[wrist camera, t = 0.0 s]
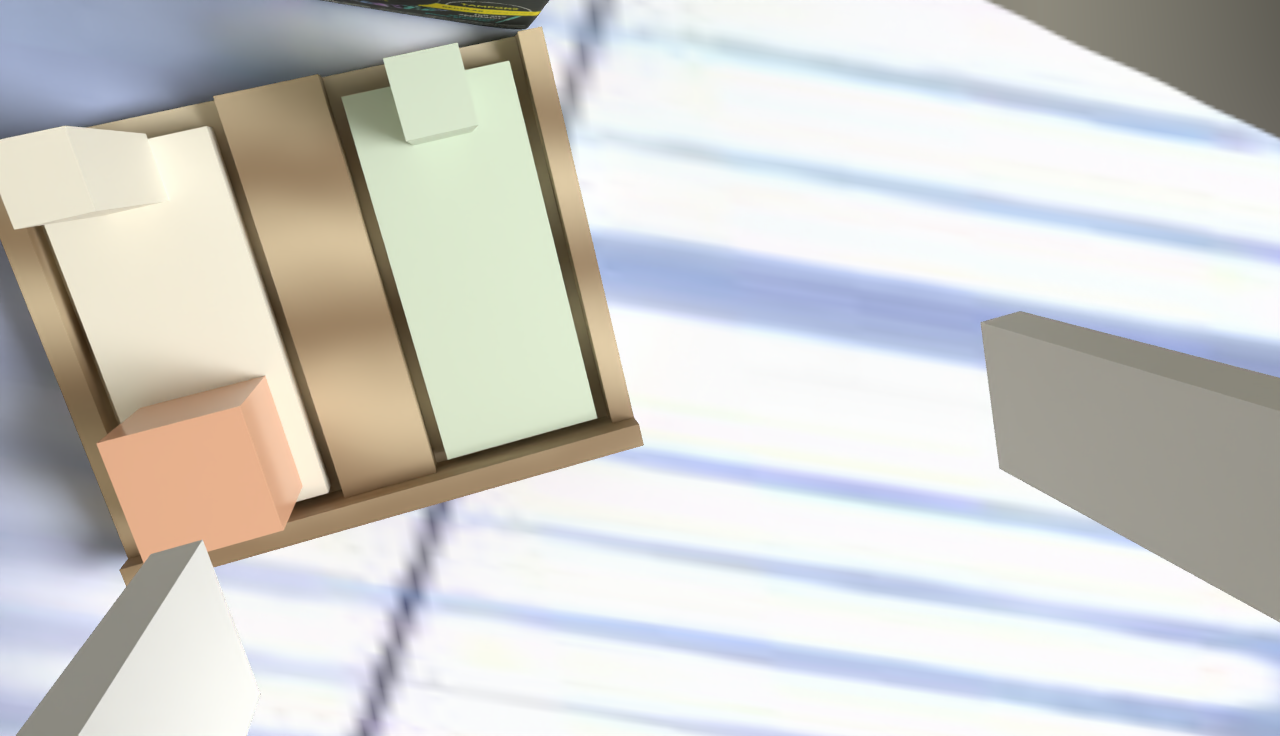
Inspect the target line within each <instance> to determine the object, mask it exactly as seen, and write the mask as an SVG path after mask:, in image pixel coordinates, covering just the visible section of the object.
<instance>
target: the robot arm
mask: <svg viewBox="0 0 1280 736" xmlns="http://www.w3.org/2000/svg"><path fill="white" fill-rule="evenodd" d="M981 330H982V337H983V345H984V353H985V360H986V368H987V376H988V383H989V391H990V399H991V406H992V414H993V422H994V429H995V437H996V445H997V453H998V460H999V468H1000V469H1001V470H1003V471H1005V472H1007V473H1009V474H1011V475H1012V476H1014V477H1016V478H1018V479H1020V480H1022V481H1023V482H1025V483H1027V484H1029V485H1031V486H1032V487H1034V488H1036V489H1038V490H1040V491H1042V492H1043V493H1045V494H1047V495H1049V496H1051V497H1052V498H1054V499H1056V500H1058V501H1060V502H1062V503H1063V504H1065V505H1067V506H1069V507H1071V508H1073V509H1074V510H1076V511H1078V512H1080V513H1082V514H1083V515H1085V516H1087V517H1089V518H1091V519H1093V520H1094V521H1096V522H1098V523H1100V524H1102V525H1103V526H1105V527H1107V528H1109V529H1111V530H1113V531H1114V532H1116V533H1118V534H1120V535H1122V536H1124V537H1125V538H1127V539H1129V540H1131V541H1133V542H1134V543H1136V544H1138V545H1140V546H1142V547H1144V548H1145V549H1147V550H1149V551H1151V552H1153V553H1154V554H1156V555H1158V556H1160V557H1162V558H1164V559H1165V560H1167V561H1169V562H1171V563H1173V564H1175V565H1176V566H1178V567H1180V568H1182V569H1184V570H1185V571H1187V572H1189V573H1191V574H1193V575H1195V576H1196V577H1198V578H1200V579H1202V580H1204V581H1205V582H1207V583H1209V584H1211V585H1213V586H1215V587H1216V588H1218V589H1220V590H1222V591H1224V592H1226V593H1227V594H1229V595H1231V596H1233V597H1235V598H1236V599H1238V600H1240V601H1242V602H1244V603H1246V604H1247V605H1249V606H1251V607H1253V608H1255V609H1256V610H1258V611H1260V612H1262V613H1264V614H1266V615H1267V616H1269V617H1271V618H1273V619H1275V620H1277V621H1278V622H1280V378H1278V377H1274V376H1270V375H1266V374H1263V373H1259V372H1255V371H1251V370H1247V369H1243V368H1239V367H1235V366H1231V365H1228V364H1224V363H1220V362H1216V361H1212V360H1208V359H1204V358H1200V357H1196V356H1193V355H1189V354H1185V353H1181V352H1177V351H1173V350H1169V349H1165V348H1161V347H1158V346H1154V345H1150V344H1146V343H1142V342H1138V341H1134V340H1130V339H1126V338H1123V337H1119V336H1115V335H1111V334H1107V333H1103V332H1099V331H1095V330H1091V329H1088V328H1084V327H1080V326H1076V325H1072V324H1068V323H1064V322H1060V321H1056V320H1053V319H1049V318H1045V317H1041V316H1037V315H1033V314H1029V313H1025V312H1021V311H1019V312H1016V313H1012V314H1008V315H1005V316H1001V317H998V318H994V319H991V320H987V321H983V322H981ZM260 695H261V693H260V691H259V688H258V685H257V683H256V680H255V677H254V675H253V672H252V669H251V667H250V664H249V661H248V659H247V656H246V653H245V651H244V648H243V645H242V643H241V640H240V637H239V635H238V632H237V629H236V627H235V624H234V621H233V619H232V616H231V614H230V611H229V608H228V606H227V603H226V600H225V598H224V595H223V592H222V590H221V587H220V584H219V582H218V579H217V576H216V574H215V571H214V568H213V566H212V563H211V560H210V558H209V555H208V552H207V550H206V547H205V544H204V542H203V540H200V541H196V542H192V543H189V544H185V545H182V546H178V547H174V548H171V549H167V550H164V551H160V552H157V553H153V554H151V555H150V556H149V557H148V559H147V560H146V561H145V563H144V564H143V565H142V567H141V568H140V569H139V571H138V572H137V573H136V575H135V576H134V577H133V579H132V580H131V581H130V583H129V584H128V585H127V587H126V588H125V589H124V591H123V592H122V594H121V595H120V596H119V598H118V599H117V600H116V602H115V603H114V604H113V606H112V607H111V608H110V610H109V611H108V612H107V614H106V615H105V616H104V618H103V619H102V620H101V622H100V623H99V624H98V626H97V627H96V628H95V630H94V631H93V632H92V634H91V635H90V636H89V638H88V639H87V640H86V642H85V643H84V645H83V646H82V647H81V649H80V650H79V651H78V653H77V654H76V655H75V657H74V658H73V659H72V661H71V662H70V663H69V665H68V666H67V667H66V669H65V670H64V671H63V673H62V674H61V675H60V677H59V678H58V679H57V681H56V682H55V683H54V685H53V686H52V687H51V689H50V690H49V692H48V693H47V694H46V696H45V697H44V698H43V700H42V701H41V702H40V704H39V705H38V706H37V708H36V709H35V710H34V712H33V713H32V714H31V716H30V717H29V718H28V720H27V721H26V722H25V724H24V725H23V726H22V728H21V729H20V730H19V732H18V733H17V734H16V736H247V733H248V730H249V727H250V724H251V722H252V719H253V716H254V713H255V710H256V707H257V704H258V701H259V698H260Z"/></svg>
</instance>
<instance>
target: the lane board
mask: <svg viewBox="0 0 1280 736" xmlns="http://www.w3.org/2000/svg"><path fill="white" fill-rule="evenodd" d="M459 50H460V54H461V58H462V61H463V65H464V69H465V70H468V69H473V68H477V67H482V66H487V65H491V64H496V63H501V62H505V61H509V62H510V66H511V70H512V74H513V78H514V82H515V86H516V90H517V94H518V98H519V102H520V106H521V110H522V114H523V118H524V123H525V127H526V131H527V135H528V139H529V143H530V147H531V151H532V155H533V159H534V163H535V167H536V171H537V175H538V179H539V183H540V187H541V192H542V196H543V200H544V204H545V208H546V212H547V216H548V220H549V224H550V228H551V232H552V236H553V240H554V244H555V248H556V252H557V257H558V261H559V265H560V269H561V273H562V277H563V281H564V285H565V289H566V293H567V297H568V301H569V305H570V309H571V313H572V317H573V322H574V326H575V330H576V334H577V338H578V342H579V346H580V350H581V354H582V358H583V362H584V366H585V370H586V374H587V378H588V382H589V386H590V391H591V395H592V399H593V403H594V407H595V411H596V415H597V419H593V420H589V421H586V422H582V423H578V424H575V425H571V426H568V427H564V428H560V429H557V430H553V431H550V432H546V433H542V434H539V435H535V436H532V437H528V438H524V439H521V440H517V441H514V442H510V443H506V444H503V445H499V446H496V447H492V448H488V449H485V450H481V451H478V452H474V453H470V454H467V455H463V456H460V457H456V458H452V459H449V460H448V459H447V456H446V452H445V449H444V445H443V442H442V439H441V435H440V432H439V428H438V425H437V422H436V418H435V415H434V411H433V408H432V405H431V401H430V398H429V394H428V391H427V388H426V384H425V381H424V377H423V374H422V371H421V367H420V364H419V360H418V357H417V353H416V350H415V347H414V343H413V340H412V336H411V333H410V330H409V326H408V323H407V319H406V316H405V313H404V309H403V306H402V302H401V299H400V296H399V292H398V289H397V285H396V282H395V279H394V275H393V272H392V268H391V265H390V262H389V258H388V255H387V251H386V248H385V245H384V241H383V238H382V234H381V231H380V228H379V224H378V221H377V217H376V214H375V210H374V207H373V204H372V200H371V197H370V193H369V190H368V187H367V183H366V180H365V176H364V173H363V170H362V166H361V163H360V159H359V156H358V153H357V149H356V146H355V142H354V139H353V136H352V132H351V129H350V125H349V122H348V119H347V115H346V112H345V108H344V105H343V102H342V98H341V97H344V96H348V95H353V94H357V93H362V92H367V91H371V90H376V89H380V88H385V87H390V82H389V79H388V75H387V72H386V68H385V65H384V64H382V65H377V66H373V67H368V68H363V69H359V70H354V71H349V72H345V73H340V74H335V75H330V76H326V77H321V76H320V75H318V74H316V75H311V76H307V77H302V78H297V79H292V80H288V81H283V82H278V83H274V84H269V85H264V86H259V87H255V88H250V89H245V90H241V91H236V92H231V93H226V94H222V95H217V96H213V98H214V100H213V101H208V102H204V103H199V104H194V105H189V106H185V107H180V108H175V109H171V110H166V111H161V112H157V113H152V114H147V115H142V116H138V117H133V118H128V119H124V120H119V121H114V122H110V123H105V124H100V125H95V126H91V127H86V128H93V129H103V130H114V131H124V132H134V133H144V134H146V136H147V138H148V139H150V138H154V137H159V136H163V135H168V134H173V133H177V132H182V131H186V130H191V129H196V128H200V127H205V126H208V127H213V130H214V133H215V136H216V139H217V142H218V145H219V148H220V151H221V154H222V157H223V160H224V163H225V166H226V169H227V172H228V175H229V178H230V181H231V184H232V188H233V191H234V194H235V197H236V200H237V203H238V206H239V209H240V212H241V215H242V218H243V221H244V224H245V227H246V230H247V233H248V236H249V239H250V242H251V245H252V248H253V251H254V254H255V257H256V260H257V263H258V266H259V269H260V272H261V275H262V278H263V281H264V284H265V287H266V290H267V293H268V296H269V299H270V302H271V305H272V308H273V311H274V314H275V317H276V320H277V324H278V327H279V330H280V333H281V336H282V339H283V342H284V345H285V348H286V351H287V354H288V357H289V360H290V363H291V366H292V369H293V372H294V375H295V378H296V381H297V384H298V387H299V390H300V393H301V396H302V399H303V402H304V405H305V408H306V411H307V414H308V417H309V420H310V423H311V426H312V429H313V432H314V435H315V438H316V441H317V444H318V447H319V450H320V453H321V456H322V460H323V463H324V466H325V469H326V472H327V475H328V478H329V481H330V484H331V487H330V490H329V492H328V493H326V494H323V495H319V496H316V497H312V498H308V499H305V500H301V501H297V502H296V503H295V505H294V508H293V510H292V512H291V515H290V517H289V519H288V522H287V524H286V526H285V529H284V530H283V531H280V532H276V533H273V534H269V535H265V536H262V537H258V538H255V539H251V540H248V541H244V542H241V543H237V544H233V545H230V546H226V547H223V548H219V549H216V550H212V551H209V552H208V555H209V558H210V560H211V563H212V566H213V567H217V566H220V565H224V564H227V563H231V562H234V561H238V560H241V559H245V558H248V557H252V556H255V555H259V554H262V553H266V552H269V551H273V550H277V549H280V548H284V547H287V546H291V545H294V544H298V543H301V542H305V541H308V540H312V539H315V538H319V537H322V536H326V535H329V534H333V533H336V532H340V531H343V530H347V529H350V528H354V527H357V526H361V525H365V524H368V523H372V522H375V521H379V520H382V519H386V518H389V517H393V516H396V515H400V514H403V513H407V512H410V511H414V510H417V509H421V508H424V507H428V506H431V505H435V504H438V503H442V502H445V501H449V500H453V499H456V498H460V497H463V496H467V495H470V494H474V493H477V492H481V491H484V490H488V489H491V488H495V487H498V486H502V485H505V484H509V483H512V482H516V481H519V480H523V479H526V478H530V477H533V476H537V475H541V474H544V473H548V472H551V471H555V470H558V469H562V468H565V467H569V466H572V465H576V464H579V463H583V462H586V461H590V460H593V459H597V458H600V457H604V456H607V455H611V454H614V453H618V452H621V451H625V450H629V449H632V448H636V447H639V446H643V445H644V444H643V440H642V436H641V431H640V427H639V424H638V422H637V421H636V420H635V418H634V416H633V412H632V408H631V403H630V399H629V395H628V391H627V386H626V382H625V378H624V374H623V369H622V365H621V361H620V357H619V352H618V348H617V344H616V340H615V335H614V331H613V327H612V323H611V318H610V314H609V310H608V306H607V301H606V297H605V293H604V289H603V284H602V280H601V276H600V272H599V267H598V263H597V259H596V255H595V250H594V246H593V242H592V238H591V233H590V229H589V225H588V221H587V216H586V212H585V208H584V204H583V199H582V195H581V191H580V187H579V182H578V178H577V174H576V170H575V165H574V161H573V157H572V153H571V148H570V144H569V140H568V136H567V131H566V127H565V123H564V119H563V114H562V110H561V106H560V102H559V97H558V93H557V89H556V85H555V81H554V76H553V72H552V68H551V64H550V59H549V55H548V51H547V47H546V42H545V38H544V34H543V30H542V27H538V28H533V29H528V30H523V31H519V32H517V34H516V36H514V37H509V38H504V39H500V40H495V41H490V42H486V43H481V44H476V45H471V46H467V47H462V48H459ZM0 240H1V242H2V245H3V247H4V250H5V252H6V255H7V257H8V260H9V262H10V265H11V267H12V270H13V272H14V275H15V277H16V280H17V282H18V285H19V287H20V290H21V292H22V295H23V297H24V300H25V302H26V305H27V307H28V309H29V312H30V314H31V317H32V319H33V322H34V324H35V327H36V329H37V332H38V334H39V337H40V339H41V342H42V344H43V347H44V349H45V352H46V354H47V357H48V359H49V362H50V364H51V367H52V369H53V372H54V374H55V377H56V379H57V382H58V384H59V387H60V389H61V392H62V394H63V397H64V399H65V402H66V404H67V407H68V409H69V412H70V414H71V417H72V419H73V422H74V424H75V427H76V429H77V432H78V434H79V437H80V439H81V442H82V444H83V447H84V449H85V452H86V454H87V457H88V459H89V462H90V464H91V467H92V469H93V472H94V474H95V477H96V479H97V482H98V484H99V487H100V489H101V492H102V494H103V497H104V499H105V502H106V504H107V507H108V509H109V512H110V514H111V517H112V519H113V522H114V524H115V527H116V529H117V532H118V534H119V537H120V539H121V542H122V544H123V547H124V549H125V552H126V554H127V557H128V560H127V561H126V562H125V564H124V565H123V566H122V567H121V569H120V572H121V575H122V577H123V580H124V582H125V585H126V587H127V585H128V584H129V583H130V581H131V580H132V579H133V577H134V576H135V575H136V573H137V572H138V571H139V569H140V568H141V567H142V565H143V564H144V563H143V560H142V558H141V555H140V553H139V550H138V548H137V545H136V543H135V540H134V538H133V535H132V533H131V530H130V527H129V525H128V522H127V520H126V517H125V515H124V512H123V510H122V507H121V505H120V502H119V500H118V497H117V495H116V492H115V490H114V487H113V485H112V482H111V479H110V477H109V474H108V472H107V469H106V467H105V464H104V462H103V459H102V457H101V454H100V452H99V449H98V447H97V444H96V443H97V442H99V441H100V440H101V439H102V438H104V437H105V436H106V435H107V434H108V433H110V432H111V431H112V430H113V429H115V428H116V427H117V426H118V425H120V424H121V423H120V420H119V417H118V415H117V412H116V410H115V407H114V404H113V402H112V399H111V397H110V394H109V392H108V389H107V386H106V384H105V381H104V379H103V376H102V373H101V371H100V368H99V366H98V363H97V360H96V358H95V355H94V353H93V350H92V348H91V345H90V342H89V340H88V337H87V335H86V332H85V329H84V327H83V324H82V322H81V319H80V316H79V314H78V311H77V309H76V306H75V304H74V301H73V298H72V296H71V293H70V291H69V288H68V285H67V283H66V280H65V278H64V275H63V273H62V270H61V267H60V265H59V262H58V260H57V257H56V254H55V252H54V249H53V247H52V244H51V241H50V239H49V236H48V234H47V231H46V229H45V226H44V225H40V226H34V227H27V228H21V229H15V230H14V228H13V225H12V223H11V220H10V218H9V215H8V213H7V210H6V208H5V205H4V203H3V200H2V198H1V195H0Z"/></svg>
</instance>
